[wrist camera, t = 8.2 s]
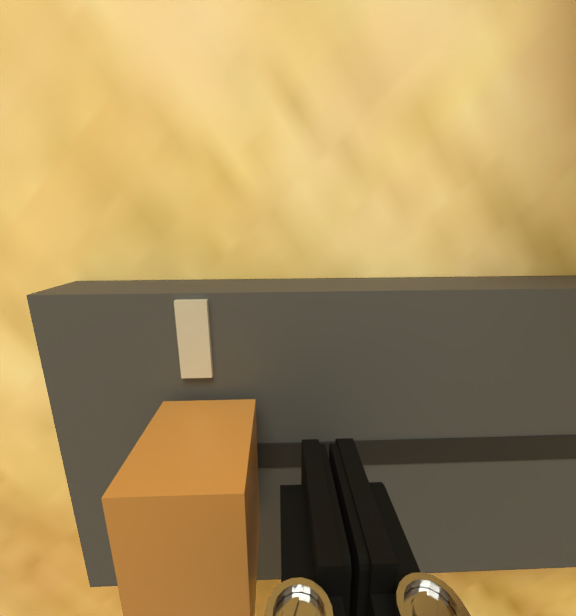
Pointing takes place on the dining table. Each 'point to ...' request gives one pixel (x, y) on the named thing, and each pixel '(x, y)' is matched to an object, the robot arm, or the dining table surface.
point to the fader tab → (188, 512)
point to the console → (338, 398)
